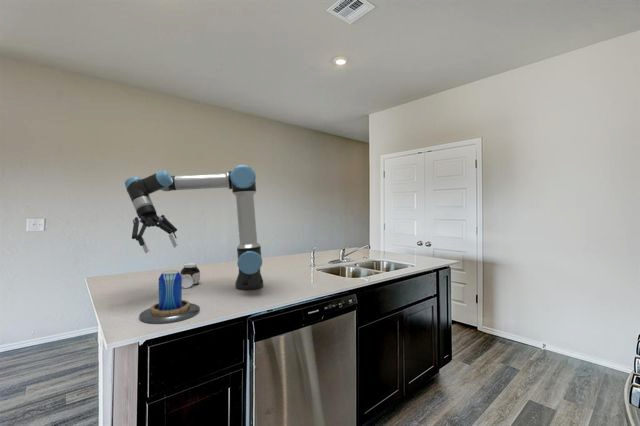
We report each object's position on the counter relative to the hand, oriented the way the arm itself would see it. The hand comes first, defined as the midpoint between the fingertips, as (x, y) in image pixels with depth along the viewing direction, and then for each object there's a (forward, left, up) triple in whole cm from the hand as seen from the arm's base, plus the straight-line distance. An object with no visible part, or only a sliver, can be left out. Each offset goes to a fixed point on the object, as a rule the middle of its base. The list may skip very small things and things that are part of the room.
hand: (162, 248), depth 135 cm
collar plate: (0, +16, -25) cm, 29 cm away
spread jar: (-18, -26, -25) cm, 41 cm away
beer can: (0, +15, -24) cm, 28 cm away
